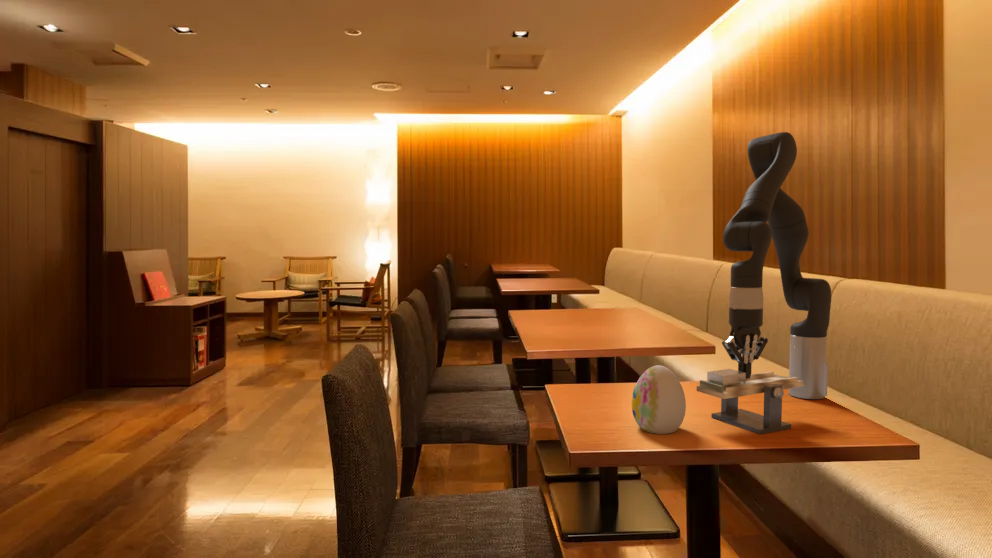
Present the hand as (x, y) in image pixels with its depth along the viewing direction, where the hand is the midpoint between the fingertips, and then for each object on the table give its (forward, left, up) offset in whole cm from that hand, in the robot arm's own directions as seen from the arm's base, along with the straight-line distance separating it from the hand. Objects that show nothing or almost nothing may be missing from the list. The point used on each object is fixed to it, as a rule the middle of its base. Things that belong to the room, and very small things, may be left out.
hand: (744, 378), depth 150 cm
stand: (-2, 0, -11) cm, 11 cm away
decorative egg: (+21, -6, -11) cm, 25 cm away
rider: (+6, 0, -2) cm, 6 cm away
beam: (-2, 0, -2) cm, 3 cm away
